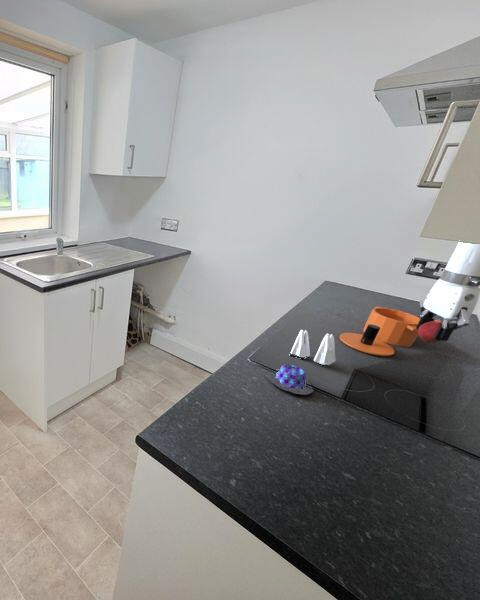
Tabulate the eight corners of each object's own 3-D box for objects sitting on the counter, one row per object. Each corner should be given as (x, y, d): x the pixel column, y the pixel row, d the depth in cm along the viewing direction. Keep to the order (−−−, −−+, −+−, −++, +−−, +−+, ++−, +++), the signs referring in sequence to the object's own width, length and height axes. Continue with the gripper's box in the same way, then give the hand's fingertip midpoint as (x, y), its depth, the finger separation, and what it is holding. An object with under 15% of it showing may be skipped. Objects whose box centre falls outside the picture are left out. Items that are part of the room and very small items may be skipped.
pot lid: (374, 338, 121) (383, 319, 118) (404, 360, 107) (415, 340, 104) (330, 333, 124) (338, 314, 121) (354, 353, 110) (363, 333, 106)
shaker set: (333, 365, 102) (346, 336, 98) (332, 371, 99) (345, 341, 95) (291, 351, 109) (301, 323, 105) (289, 355, 106) (299, 327, 102)
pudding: (313, 403, 84) (320, 388, 82) (264, 386, 90) (269, 371, 88) (312, 381, 94) (318, 366, 91) (267, 367, 99) (271, 353, 97)
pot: (389, 327, 131) (400, 307, 127) (428, 352, 113) (442, 330, 109) (351, 323, 133) (360, 303, 130) (383, 347, 115) (395, 324, 112)
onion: (419, 344, 94) (431, 321, 91) (409, 336, 99) (420, 313, 96) (444, 349, 93) (458, 325, 89) (432, 340, 98) (445, 317, 94)
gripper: (509, 290, 79) (472, 351, 86) (449, 271, 95) (422, 323, 102) (474, 288, 81) (440, 347, 88) (420, 268, 96) (395, 320, 103)
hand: (430, 334), depth 95 cm, fingers closed on onion, 5 cm apart
